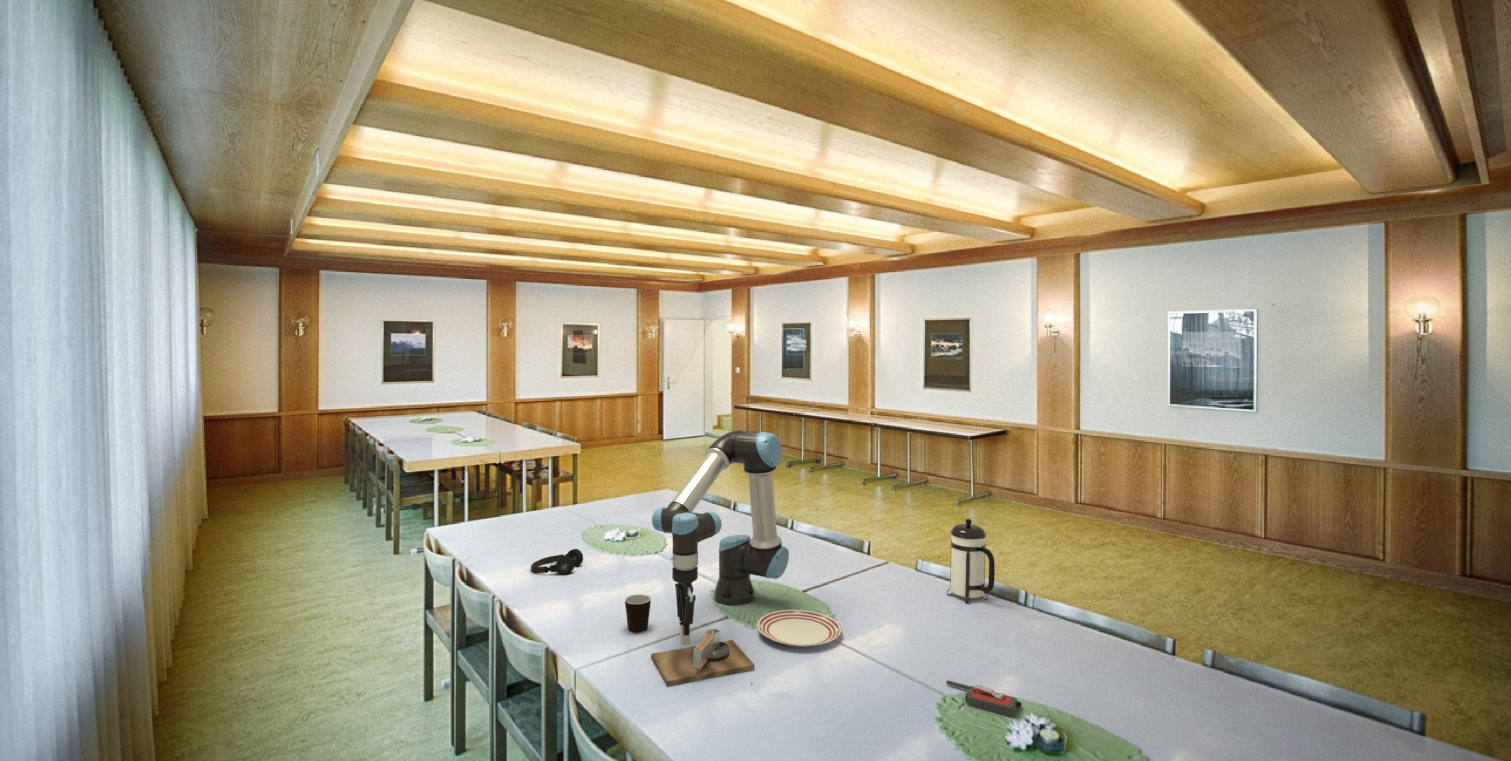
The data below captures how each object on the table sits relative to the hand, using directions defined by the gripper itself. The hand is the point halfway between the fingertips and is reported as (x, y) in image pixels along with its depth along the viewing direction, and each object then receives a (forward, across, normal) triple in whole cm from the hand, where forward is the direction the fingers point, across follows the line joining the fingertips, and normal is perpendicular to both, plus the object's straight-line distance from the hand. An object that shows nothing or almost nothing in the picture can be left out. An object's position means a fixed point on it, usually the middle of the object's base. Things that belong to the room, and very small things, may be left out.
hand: (685, 643), depth 197 cm
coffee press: (+5, -7, +115) cm, 115 cm away
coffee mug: (+5, -28, -7) cm, 29 cm away
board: (+5, +5, +4) cm, 8 cm away
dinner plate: (+5, -2, +40) cm, 40 cm away
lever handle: (+3, +6, +5) cm, 8 cm away
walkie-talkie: (+5, +53, +65) cm, 84 cm away
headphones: (+5, -100, -26) cm, 104 cm away
